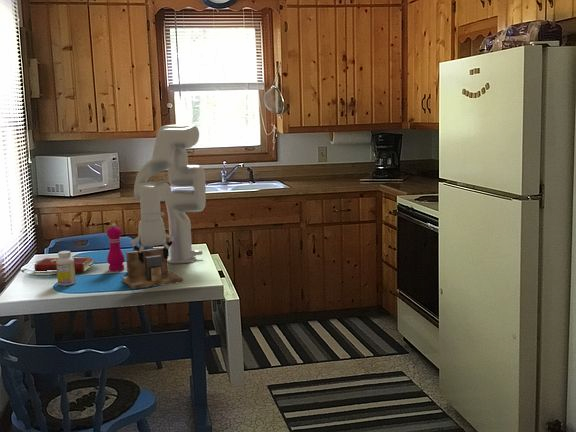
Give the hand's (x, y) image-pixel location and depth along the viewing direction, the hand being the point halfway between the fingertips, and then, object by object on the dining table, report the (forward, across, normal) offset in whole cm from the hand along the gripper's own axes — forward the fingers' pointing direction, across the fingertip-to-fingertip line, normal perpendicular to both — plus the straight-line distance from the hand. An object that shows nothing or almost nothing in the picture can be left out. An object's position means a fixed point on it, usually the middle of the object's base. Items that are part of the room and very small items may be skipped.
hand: (153, 260), depth 269 cm
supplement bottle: (+9, +30, -17) cm, 36 cm away
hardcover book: (+10, +26, -44) cm, 52 cm away
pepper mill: (+10, +8, -30) cm, 32 cm away
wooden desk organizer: (+9, 0, -2) cm, 9 cm away
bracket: (+7, 0, +1) cm, 7 cm away
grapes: (+10, -2, -22) cm, 24 cm away
